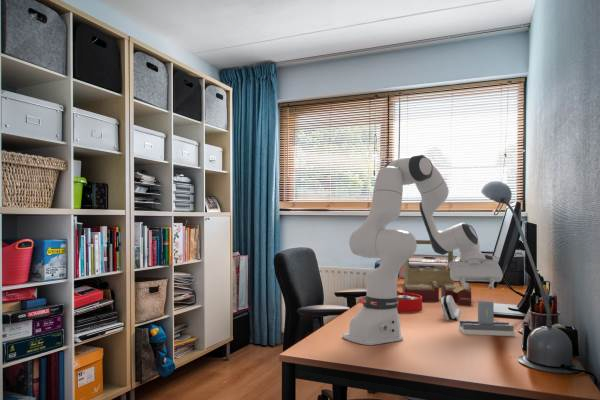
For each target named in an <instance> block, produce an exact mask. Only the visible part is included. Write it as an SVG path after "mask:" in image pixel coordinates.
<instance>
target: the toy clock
mask: <svg viewBox="0 0 600 400" xmlns="http://www.w3.org/2000/svg"><path fill="white" fill-rule="evenodd" d="M397 297H398V307H397V311H398V313H414V312H419V311H422V310H423V301H422V296H420V295H417V294H413V293H404V292H402V291H400V292H397Z"/></svg>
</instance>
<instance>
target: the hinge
mask: <svg viewBox="0 0 600 400" xmlns="http://www.w3.org/2000/svg"><path fill="white" fill-rule="evenodd" d="M440 306H441V308H442V312H443V315H444V317H445V320H446V321H448V320H450V319H452V320H453V319H456V321H457V322H459V320H460V319H461V315H462V312H461V309H460V308H458V307H457V304H456V303H455V302H454V299H453V297H452V296H451V295H448V296H447V297H446V296H444V297H442V298H440Z"/></svg>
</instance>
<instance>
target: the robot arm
mask: <svg viewBox="0 0 600 400" xmlns="http://www.w3.org/2000/svg"><path fill="white" fill-rule="evenodd" d="M412 184H415V187H416V189H417V190H418V192H419V194H420V197H421V201H420V202H419V211H420V215H421V218H422V221H423V223H424V226H425V229H426V232H427V234H428V238H429V240H430V242H431V244H430V246H431V248H432V250H433V251H434V253H436V254H439V255H442V256H443V255H444V256H445V255H446V254H447V255H448V253H449V252H451V251H453V252H454V251H455V250H458V251H459V254H460V260H453V261H451V262H449V263H448V262H447V268H448V267H449V269H450V277H451V279H452V280H454V282H455V281H456V282H457V281H458V282H459V281H460V283H461V285H462V286H463V285H464V287H465V289H469V286H470V284H469V282H489V284H488V289H489V290H494V287H495V286H494V284H495V282H498V283H499V282H501V281H502V279H503V276H504V275H503V271H502V268H501V267H500V265H499V263H498V262H497V259H496V257H495V256H493V255H489V254H486V253H482V251H481V247H480V242H479V238H478V234H477V232H476V229H475V228H474V227H473V226H472V225H470V224H469V223H466V222H460V223H457V224H454V225H452V226H450V227H447V228H445V229H443V230H438V228H437V225H436V222H435V219H434V213H435V212H436V211H437V210H438V209H439V208H440V207H441V206H442V205H443V204H444V203H445V202H446V200H447V198H448V196H449V192H450V191H449V187H448V184H447V183H446V181H445V178H444V177H443V175H442V174H441V172H440V171H439V170H438V168H437V167H436V166H435V165H434V163H433V162H432V161H431V159H430V158H429V157H428V156H427V155H424V154H413V155H409V156H402V157H399V158H397V159H395V160H391V161H389V162H387V163H386V164H385V165H384V166H383V167H382V168H380V169H379V170H378V172H377V174H376V179H375V181H374V187H373V193H372V199H371V205H370V211H369V213H368V215H367V217H366V219H365V220H364V222H363V223H362V224H361V225H360V227H358V228H357V229H356V230H354V231H353V232H352V233H351V235H350V237H349V240H348V245H349V249H350V251H351V253H352V254H354V255H356V256H358V257H362V258H368V259H380V264H379V266H377V267H376V268H374V269H372V270H370V271H369V273H368V274H367V275H366V295H365V297H364V298H363V297H359V298H358V303H359V304H362V305H363V306H362V308H360V309H359V311H358V312H357V313H356V314H355V315H354V316H353V317H352V318H351V319H350V322H349V328H348V331H347V332H344V333H343V334H342V338H344V340H347V341H349V342H353V343H356V344H361V345H365V346H373V345H374V346H375V345H381V344H388V343H393V342H400V341H403V340H404V337H403V335H402V332H401V320H400V314H399V312H398V311H397V307H398V297H397V290H398V278H399V274H400V272H401V269H402V268H403V265H405V262H406V261H407V260H408V259H409V260H410V259H411V258H412V257H413V256H414V255H415V253H416V250H417V247H418V246H417V245H418V244H416V240H417V239H416V238H415V236H414V234H413V233H412V232H409V231H406V230H401V229H386V228H387V226H388V225H389V224H390V223H392V222H394V221H395V220H397V219H398V218H399V217H400V215H401V211H402V202H403V192H404V191H403V189H404V188H403V187H404V186H406V185H408V186H409V185H412Z"/></svg>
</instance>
